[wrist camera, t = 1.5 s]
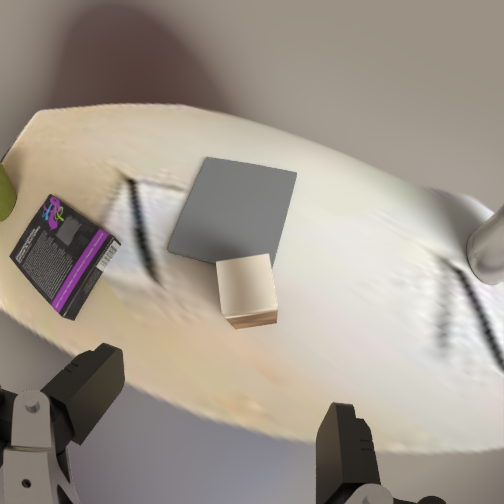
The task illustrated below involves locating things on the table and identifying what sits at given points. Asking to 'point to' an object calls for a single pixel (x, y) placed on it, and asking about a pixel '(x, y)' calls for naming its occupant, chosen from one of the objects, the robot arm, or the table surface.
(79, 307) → the box
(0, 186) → the flower pot
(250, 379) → the table surface
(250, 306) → the block
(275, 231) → the mat
